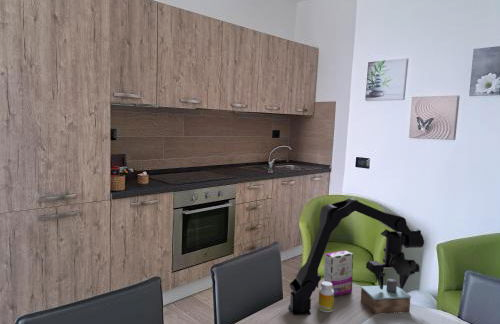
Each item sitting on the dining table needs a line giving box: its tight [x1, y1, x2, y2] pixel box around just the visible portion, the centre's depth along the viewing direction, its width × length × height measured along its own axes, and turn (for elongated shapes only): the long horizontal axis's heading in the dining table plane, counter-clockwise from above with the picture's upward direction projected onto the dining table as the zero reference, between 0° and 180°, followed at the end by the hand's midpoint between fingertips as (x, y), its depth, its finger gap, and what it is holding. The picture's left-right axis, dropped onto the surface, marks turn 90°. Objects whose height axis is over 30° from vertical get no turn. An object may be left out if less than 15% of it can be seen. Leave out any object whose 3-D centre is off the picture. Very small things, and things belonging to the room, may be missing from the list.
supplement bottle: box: [317, 280, 335, 313], centre depth 128 cm, size 5×5×10 cm
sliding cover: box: [360, 278, 412, 300], centre depth 131 cm, size 14×10×5 cm
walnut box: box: [360, 288, 411, 315], centre depth 131 cm, size 14×10×5 cm
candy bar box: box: [323, 250, 354, 298], centre depth 142 cm, size 11×5×16 cm, turn 117°
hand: (391, 288), depth 132 cm, fingers open, 8 cm apart
